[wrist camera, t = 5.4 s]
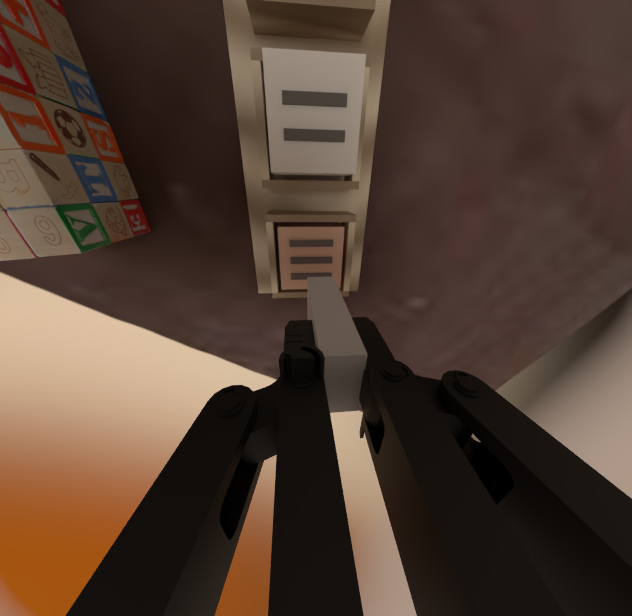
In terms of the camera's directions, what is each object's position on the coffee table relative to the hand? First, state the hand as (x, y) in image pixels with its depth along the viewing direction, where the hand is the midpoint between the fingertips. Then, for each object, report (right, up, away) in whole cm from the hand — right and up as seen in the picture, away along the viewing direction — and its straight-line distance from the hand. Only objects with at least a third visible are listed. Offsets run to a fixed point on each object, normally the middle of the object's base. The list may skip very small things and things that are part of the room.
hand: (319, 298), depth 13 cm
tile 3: (-1, +6, +11) cm, 13 cm away
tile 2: (-1, +13, +4) cm, 14 cm away
